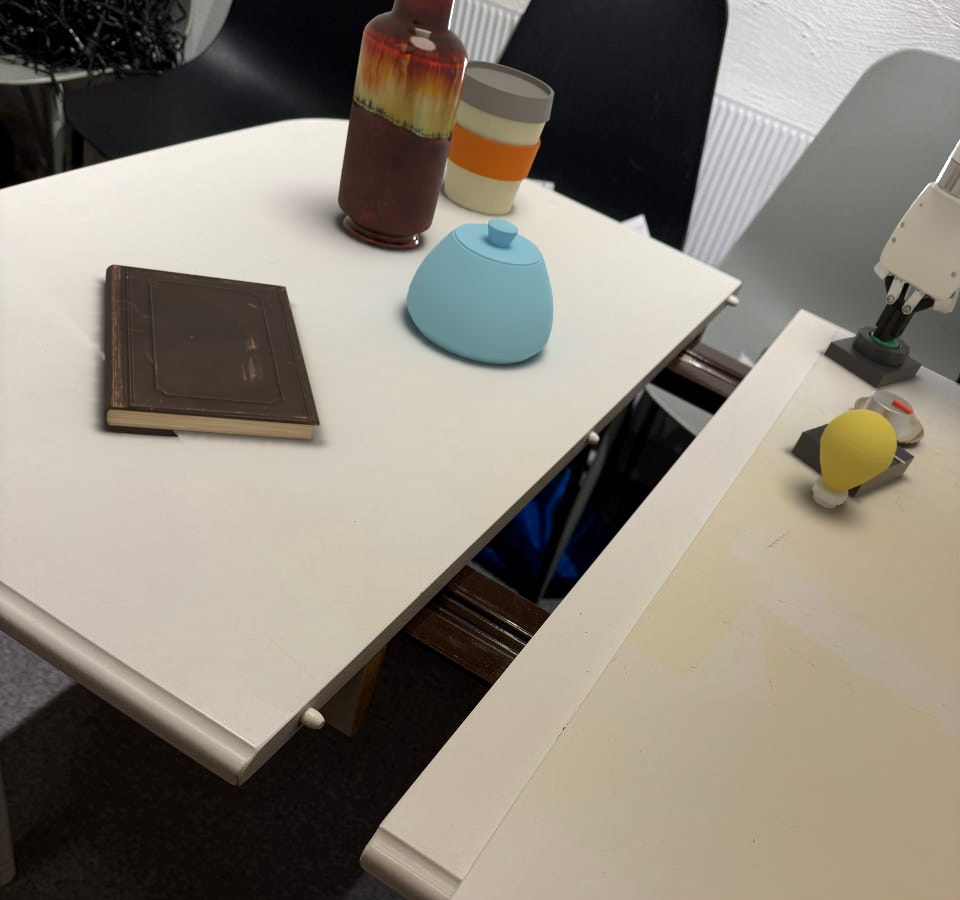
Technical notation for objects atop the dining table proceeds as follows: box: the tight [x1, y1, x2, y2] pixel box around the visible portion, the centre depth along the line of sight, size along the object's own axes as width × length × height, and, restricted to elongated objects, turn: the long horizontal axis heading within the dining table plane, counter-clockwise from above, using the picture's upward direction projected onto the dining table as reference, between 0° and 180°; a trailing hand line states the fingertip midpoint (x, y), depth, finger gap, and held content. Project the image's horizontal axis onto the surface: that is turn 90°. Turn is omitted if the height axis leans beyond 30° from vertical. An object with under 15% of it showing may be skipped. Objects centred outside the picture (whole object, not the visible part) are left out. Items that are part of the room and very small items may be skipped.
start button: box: [870, 331, 899, 349], centre depth 119 cm, size 4×4×2 cm
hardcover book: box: [103, 264, 321, 441], centre depth 83 cm, size 16×23×2 cm
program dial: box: [863, 389, 915, 439], centre depth 98 cm, size 4×4×5 cm
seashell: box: [853, 396, 925, 445], centre depth 109 cm, size 8×3×8 cm
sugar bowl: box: [406, 218, 554, 365], centre depth 96 cm, size 15×15×12 cm
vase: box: [337, 0, 469, 251], centre depth 104 cm, size 11×11×26 cm
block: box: [823, 325, 923, 389], centre depth 120 cm, size 10×8×4 cm
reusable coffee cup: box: [443, 59, 555, 216], centre depth 123 cm, size 13×13×15 cm
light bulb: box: [811, 409, 898, 509], centre depth 90 cm, size 7×7×10 cm
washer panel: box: [790, 422, 915, 498], centre depth 100 cm, size 11×9×3 cm
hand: (883, 337), depth 119 cm, fingers closed
